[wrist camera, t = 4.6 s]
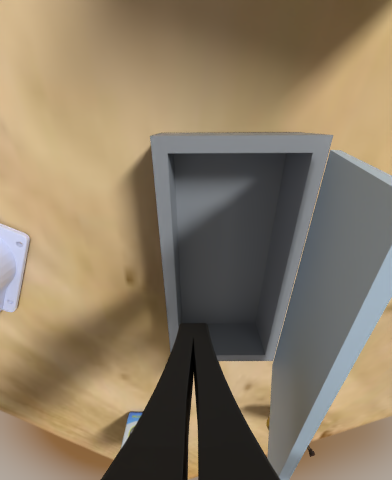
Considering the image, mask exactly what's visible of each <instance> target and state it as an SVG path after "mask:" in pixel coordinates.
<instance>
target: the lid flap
mask: <svg viewBox="0 0 392 480" xmlns="http://www.w3.org/2000/svg"><path fill="white" fill-rule="evenodd" d="M391 297H392V176H391V175H389V174H387V173H385V172H383V171H381V170H379V169H377V168H375V167H373V166H371V165H369V164H367V163H365V162H363V161H361V160H359V159H357V158H355V157H353V156H351V155H349V154H347V153H345V152H343V151H341V150H330V154H329V158H328V161H327V165H326V169H325V172H324V176H323V180H322V184H321V187H320V191H319V195H318V198H317V202H316V206H315V210H314V213H313V217H312V221H311V224H310V228H309V232H308V236H307V239H306V243H305V247H304V250H303V254H302V258H301V262H300V265H299V269H298V273H297V276H296V280H295V284H294V287H293V291H292V295H291V299H290V302H289V306H288V310H287V313H286V317H285V321H284V325H283V328H282V332H281V336H280V339H279V343H278V347H277V351H276V354H275V358H274V362H273V365H272V384H271V403H270V422H269V441H268V461H269V462H270V464H271V465H272V467H273V469H274V470H275V472H276V473H277V475H278V477H279V478H280V480H289V479H290V477H291V475H292V474H293V472H294V470H295V468H296V467H297V464H298V463H299V461H300V459H301V457H302V456H303V454H304V452H305V450H306V449H307V447H308V445H309V443H310V442H311V440H312V438H313V436H314V434H315V433H316V431H317V429H318V427H319V426H320V424H321V422H322V420H323V418H324V417H325V415H326V413H327V411H328V409H329V408H330V406H331V404H332V402H333V401H334V399H335V397H336V395H337V393H338V392H339V390H340V388H341V386H342V385H343V383H344V381H345V379H346V377H347V376H348V374H349V372H350V370H351V369H352V367H353V365H354V363H355V361H356V360H357V358H358V356H359V354H360V352H361V351H362V349H363V347H364V345H365V344H366V342H367V340H368V338H369V336H370V335H371V333H372V331H373V329H374V328H375V326H376V324H377V322H378V320H379V319H380V317H381V315H382V313H383V311H384V310H385V308H386V306H387V304H388V303H389V301H390V299H391Z"/></svg>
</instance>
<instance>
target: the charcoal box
mask: <svg viewBox="0 0 392 480" xmlns="http://www.w3.org/2000/svg"><path fill="white" fill-rule="evenodd" d="M332 138H333V135H325V134H314V133H302V132H249V133H159V134H156V135H152V136H150V140H151V150H152V161H153V172H154V182H155V193H156V203H157V214H158V225H159V235H160V246H161V256H162V267H163V278H164V288H165V299H166V309H167V320H168V331H169V341H170V352H171V351H172V349H173V346H174V343H175V340H176V337H177V333H178V329H179V325H180V324H181V323H206V324H208V329H209V333H210V338H211V341H212V345H213V348H214V351H215V354H216V357H217V359H218V361H273V359H274V355H275V351H276V348H277V344H278V340H279V336H280V333H281V329H282V325H283V322H284V318H285V314H286V310H287V307H288V303H289V299H290V295H291V292H292V288H293V284H294V280H295V277H296V273H297V269H298V265H299V262H300V258H301V254H302V250H303V247H304V243H305V239H306V235H307V232H308V228H309V224H310V220H311V217H312V213H313V209H314V205H315V202H316V198H317V194H318V190H319V187H320V183H321V179H322V175H323V172H324V168H325V164H326V160H327V157H328V153H329V149H330V145H331V142H332Z"/></svg>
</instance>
